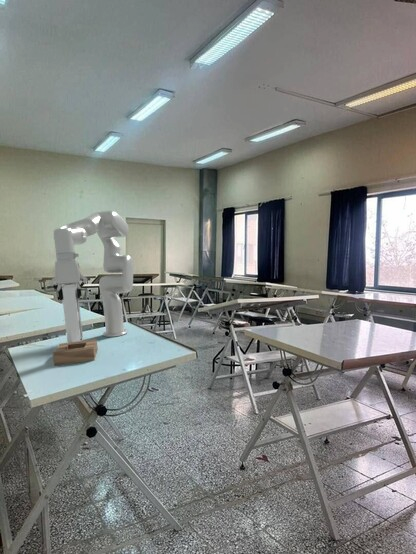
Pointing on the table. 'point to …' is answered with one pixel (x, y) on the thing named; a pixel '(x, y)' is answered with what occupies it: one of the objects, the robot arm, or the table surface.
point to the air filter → (72, 313)
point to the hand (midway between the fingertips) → (70, 298)
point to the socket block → (75, 352)
